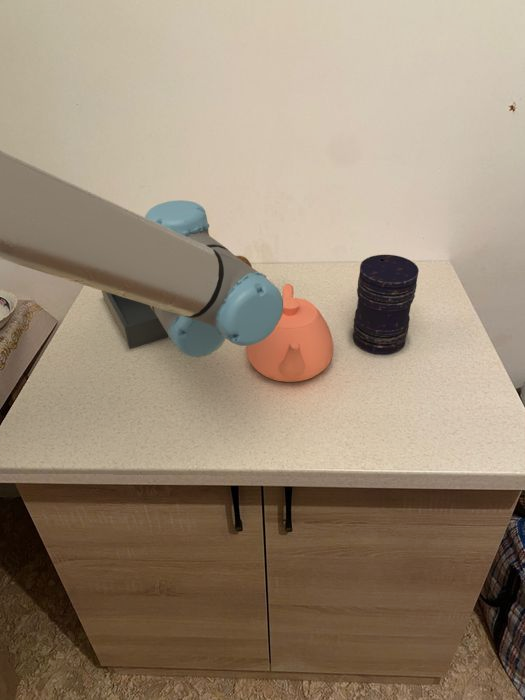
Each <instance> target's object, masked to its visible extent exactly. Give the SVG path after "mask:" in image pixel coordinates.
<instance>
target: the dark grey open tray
mask: <svg viewBox="0 0 525 700" xmlns="http://www.w3.org/2000/svg"><path fill="white" fill-rule="evenodd" d="M101 293H102V297H103V300H104V302H105V303H106V306H107V308H108V310H109V312H110V315H111V316H112V317H113V319H114V322H115V324H116V325H117V327H118V329H119V331H120V333H121V335H122V337H123V339H124V341H125V343H126V345H127V347H128V349H130V350H131V349H134V348H136V347H140V346H144V345H146V344H149V343H150V344H151V343H153V342H156V341H160V340H163V339H166V338H169V337H168V334H167V332H166V331H165V329H164V327H163V326H162V324H161V322H160V321H159V319H158V317H157V316H156V314H155V313H154V311H153V310H152V308H151V307H150V305H147V304H143V303H140V302H137V301H134V300H130V299H127V298H124V297H121V296H118V295H114V294H111V293H108V292H105V291H102V290H101Z"/></svg>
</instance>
